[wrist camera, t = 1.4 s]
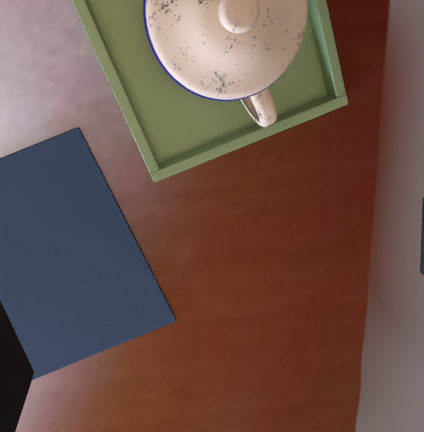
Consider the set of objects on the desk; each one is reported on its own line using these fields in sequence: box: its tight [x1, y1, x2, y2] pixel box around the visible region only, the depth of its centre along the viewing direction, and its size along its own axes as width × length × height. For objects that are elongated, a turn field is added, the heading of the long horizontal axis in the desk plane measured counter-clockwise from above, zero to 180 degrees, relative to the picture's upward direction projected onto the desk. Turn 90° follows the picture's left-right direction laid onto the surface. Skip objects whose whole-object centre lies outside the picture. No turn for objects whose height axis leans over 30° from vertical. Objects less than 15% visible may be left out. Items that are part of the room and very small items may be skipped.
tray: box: [72, 0, 348, 182], centre depth 30 cm, size 16×17×2 cm
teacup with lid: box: [143, 0, 308, 127], centre depth 25 cm, size 12×9×12 cm
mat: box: [0, 127, 176, 380], centre depth 35 cm, size 20×16×1 cm
